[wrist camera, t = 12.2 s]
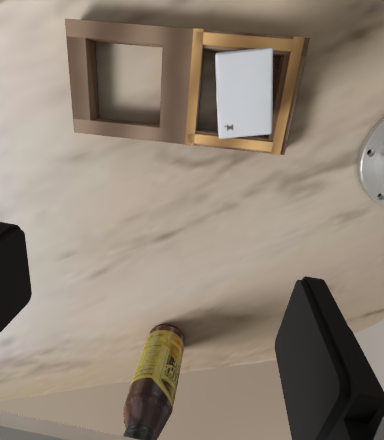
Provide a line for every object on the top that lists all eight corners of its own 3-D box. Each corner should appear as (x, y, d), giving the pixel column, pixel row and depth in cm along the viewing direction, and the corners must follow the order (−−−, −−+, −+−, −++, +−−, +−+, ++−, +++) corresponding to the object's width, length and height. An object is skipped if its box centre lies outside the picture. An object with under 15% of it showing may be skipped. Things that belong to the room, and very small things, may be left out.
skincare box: (257, 122, 33) (272, 137, 22) (220, 125, 34) (217, 141, 23) (258, 62, 31) (275, 45, 20) (217, 66, 31) (212, 52, 20)
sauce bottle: (186, 350, 49) (162, 502, 31) (151, 349, 50) (107, 496, 32) (183, 321, 46) (155, 467, 28) (146, 320, 47) (95, 461, 29)
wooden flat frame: (303, 42, 29) (310, 37, 27) (280, 150, 34) (284, 155, 31) (76, 23, 31) (63, 17, 28) (84, 129, 36) (72, 132, 33)
